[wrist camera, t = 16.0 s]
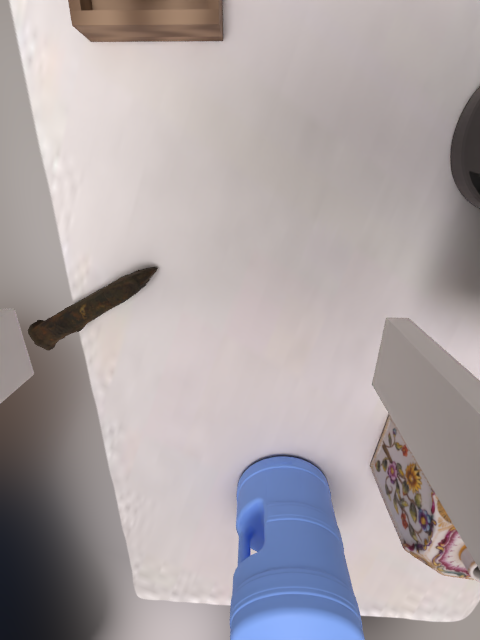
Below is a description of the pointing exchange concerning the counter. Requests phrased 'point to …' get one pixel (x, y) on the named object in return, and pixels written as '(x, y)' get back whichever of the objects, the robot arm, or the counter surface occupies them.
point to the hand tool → (88, 309)
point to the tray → (148, 20)
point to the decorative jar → (418, 509)
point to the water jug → (290, 558)
